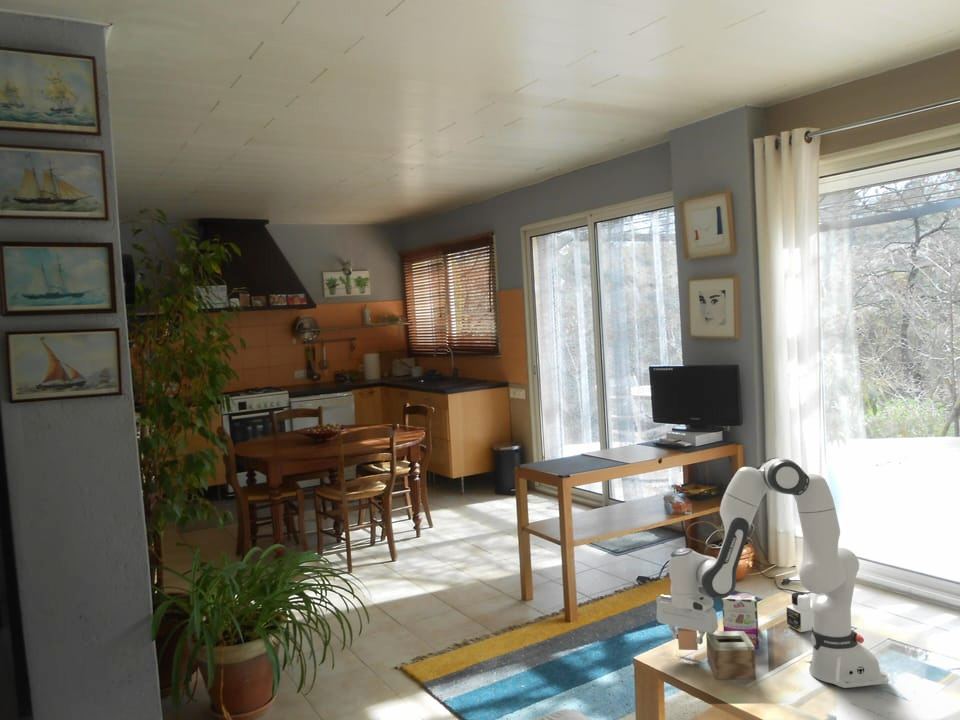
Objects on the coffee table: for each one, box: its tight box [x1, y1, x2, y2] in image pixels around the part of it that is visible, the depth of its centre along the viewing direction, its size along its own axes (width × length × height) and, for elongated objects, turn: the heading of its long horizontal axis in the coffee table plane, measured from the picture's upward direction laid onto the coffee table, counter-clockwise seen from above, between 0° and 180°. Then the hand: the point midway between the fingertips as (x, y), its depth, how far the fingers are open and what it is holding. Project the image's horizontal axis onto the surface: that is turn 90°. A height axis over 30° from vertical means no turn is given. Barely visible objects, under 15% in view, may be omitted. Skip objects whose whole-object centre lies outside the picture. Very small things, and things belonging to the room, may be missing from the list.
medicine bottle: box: [785, 591, 813, 633], centre depth 264 cm, size 7×7×12 cm
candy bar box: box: [721, 594, 760, 649], centre depth 253 cm, size 11×5×16 cm, turn 71°
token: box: [676, 627, 699, 651], centre depth 244 cm, size 6×3×6 cm, turn 76°
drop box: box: [705, 630, 757, 680], centre depth 235 cm, size 12×12×10 cm
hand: (687, 640), depth 244 cm, fingers closed on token, 7 cm apart
